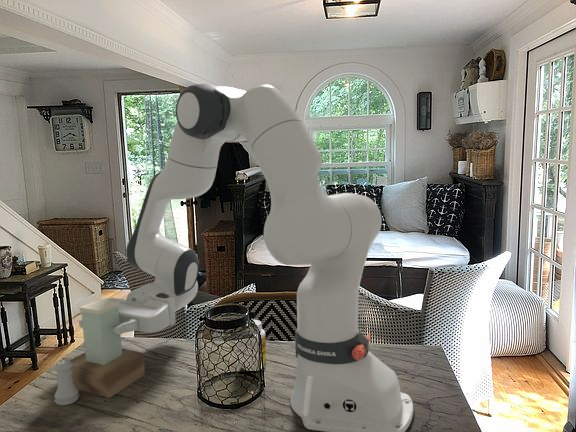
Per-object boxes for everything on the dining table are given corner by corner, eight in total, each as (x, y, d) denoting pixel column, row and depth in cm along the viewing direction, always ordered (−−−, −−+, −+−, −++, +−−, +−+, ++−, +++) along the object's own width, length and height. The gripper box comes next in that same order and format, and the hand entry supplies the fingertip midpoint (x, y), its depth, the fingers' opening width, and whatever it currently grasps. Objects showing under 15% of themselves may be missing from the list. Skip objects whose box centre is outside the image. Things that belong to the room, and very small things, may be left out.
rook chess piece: (49, 406, 90) (45, 366, 89) (63, 393, 94) (59, 356, 93) (71, 407, 89) (67, 367, 88) (84, 394, 93) (80, 356, 92)
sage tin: (123, 354, 100) (119, 302, 98) (103, 365, 95) (98, 310, 93) (104, 350, 102) (100, 299, 100) (84, 361, 97) (79, 307, 95)
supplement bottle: (252, 375, 99) (250, 329, 98) (235, 367, 103) (233, 323, 102) (271, 366, 103) (270, 322, 102) (255, 358, 107) (253, 316, 106)
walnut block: (144, 374, 101) (143, 352, 100) (109, 397, 92) (107, 374, 91) (103, 364, 106) (101, 343, 105) (66, 385, 97) (63, 363, 96)
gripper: (110, 288, 113) (60, 306, 100) (179, 297, 104) (134, 319, 92) (112, 313, 114) (63, 334, 101) (181, 325, 105) (136, 350, 93)
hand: (97, 327), depth 96 cm, fingers open, 8 cm apart
